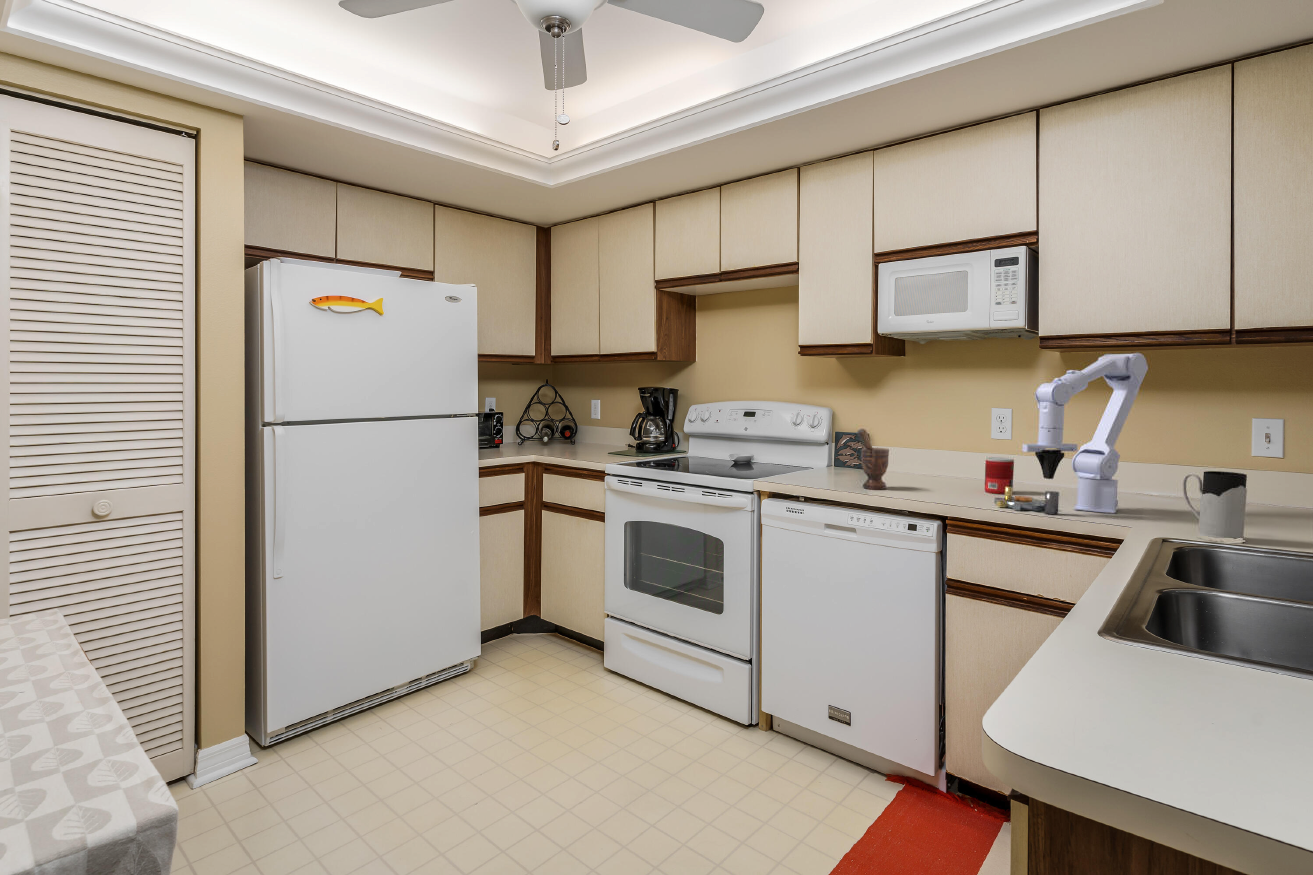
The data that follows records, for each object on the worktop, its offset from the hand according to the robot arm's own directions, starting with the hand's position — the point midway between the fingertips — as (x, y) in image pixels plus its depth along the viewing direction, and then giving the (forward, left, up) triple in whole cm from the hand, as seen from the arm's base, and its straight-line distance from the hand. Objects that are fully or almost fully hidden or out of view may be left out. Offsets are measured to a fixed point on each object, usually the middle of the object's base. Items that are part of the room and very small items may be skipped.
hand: (1048, 478), depth 184 cm
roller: (-1, +1, -9) cm, 10 cm away
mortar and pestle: (+51, -13, -10) cm, 54 cm away
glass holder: (-34, +9, -10) cm, 36 cm away
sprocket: (+6, -6, -9) cm, 13 cm away
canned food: (+16, -29, -10) cm, 34 cm away
